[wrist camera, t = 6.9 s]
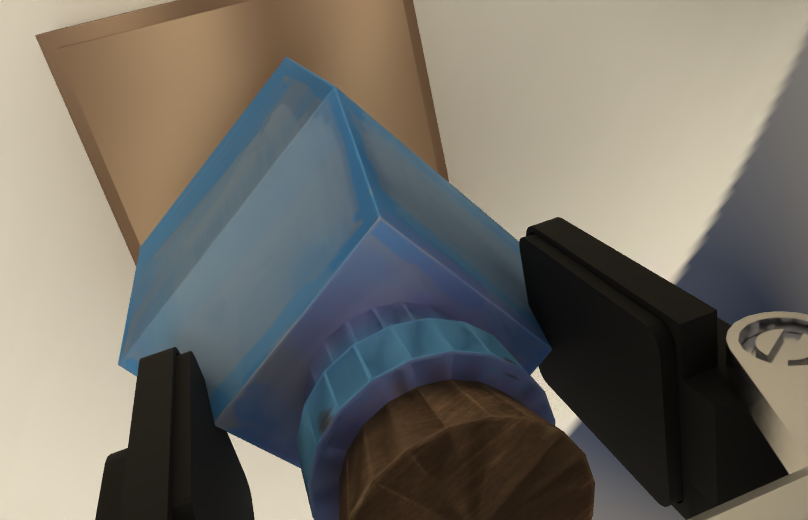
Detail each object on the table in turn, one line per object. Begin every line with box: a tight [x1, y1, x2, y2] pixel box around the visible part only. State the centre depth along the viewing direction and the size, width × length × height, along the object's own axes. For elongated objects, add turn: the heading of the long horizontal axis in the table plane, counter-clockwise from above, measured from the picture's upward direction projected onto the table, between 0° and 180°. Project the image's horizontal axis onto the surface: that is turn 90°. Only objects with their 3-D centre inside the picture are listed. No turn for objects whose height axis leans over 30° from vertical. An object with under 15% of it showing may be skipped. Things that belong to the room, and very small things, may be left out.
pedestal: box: [35, 0, 449, 267], centre depth 25 cm, size 12×12×4 cm
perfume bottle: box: [118, 57, 595, 520], centre depth 13 cm, size 6×6×12 cm
